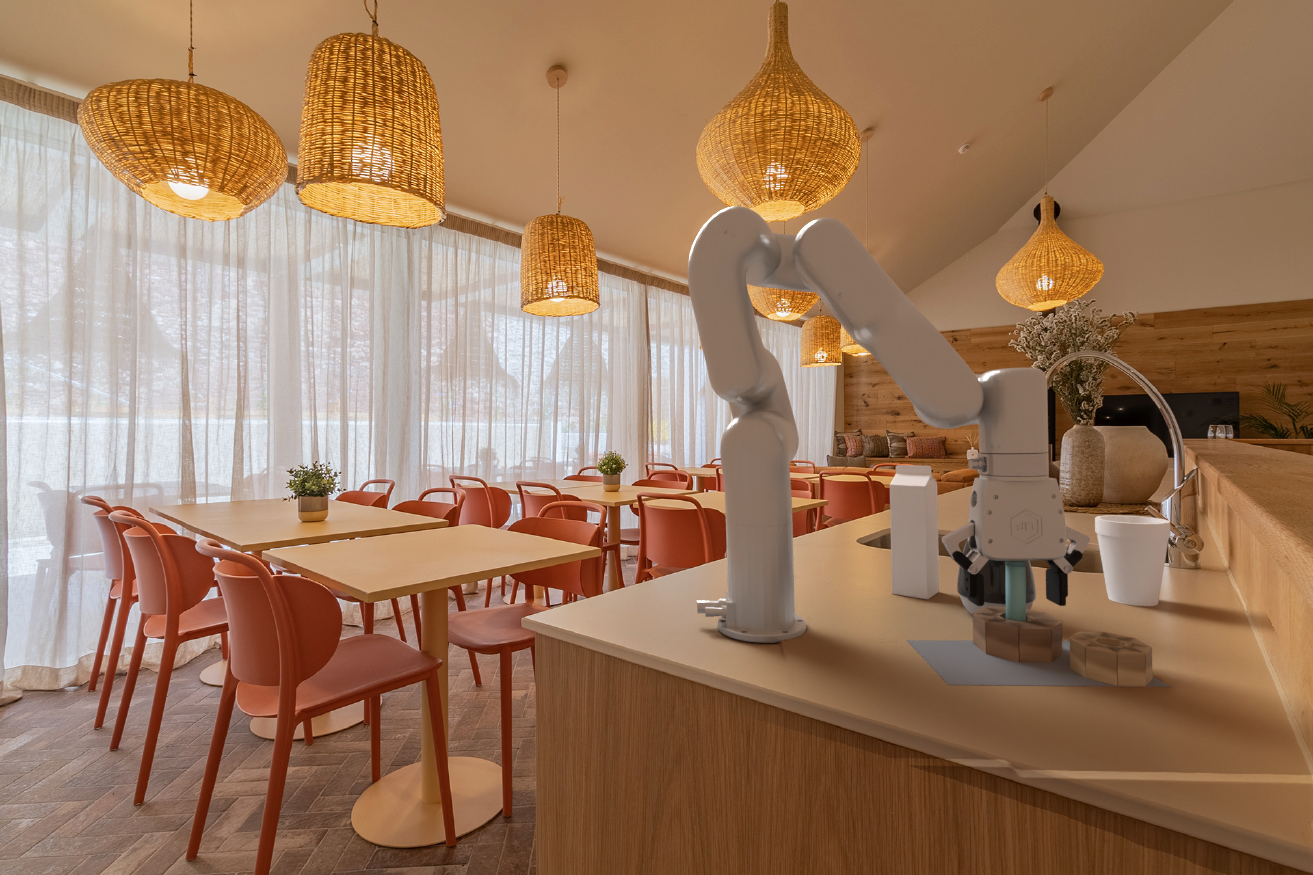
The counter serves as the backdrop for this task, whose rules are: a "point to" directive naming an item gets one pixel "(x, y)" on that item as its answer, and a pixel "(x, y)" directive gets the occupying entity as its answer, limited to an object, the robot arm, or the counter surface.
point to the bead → (1017, 635)
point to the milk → (914, 532)
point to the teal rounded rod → (1016, 590)
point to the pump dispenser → (994, 584)
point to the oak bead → (1111, 658)
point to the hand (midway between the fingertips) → (1015, 602)
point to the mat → (1000, 667)
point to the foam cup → (1133, 557)
